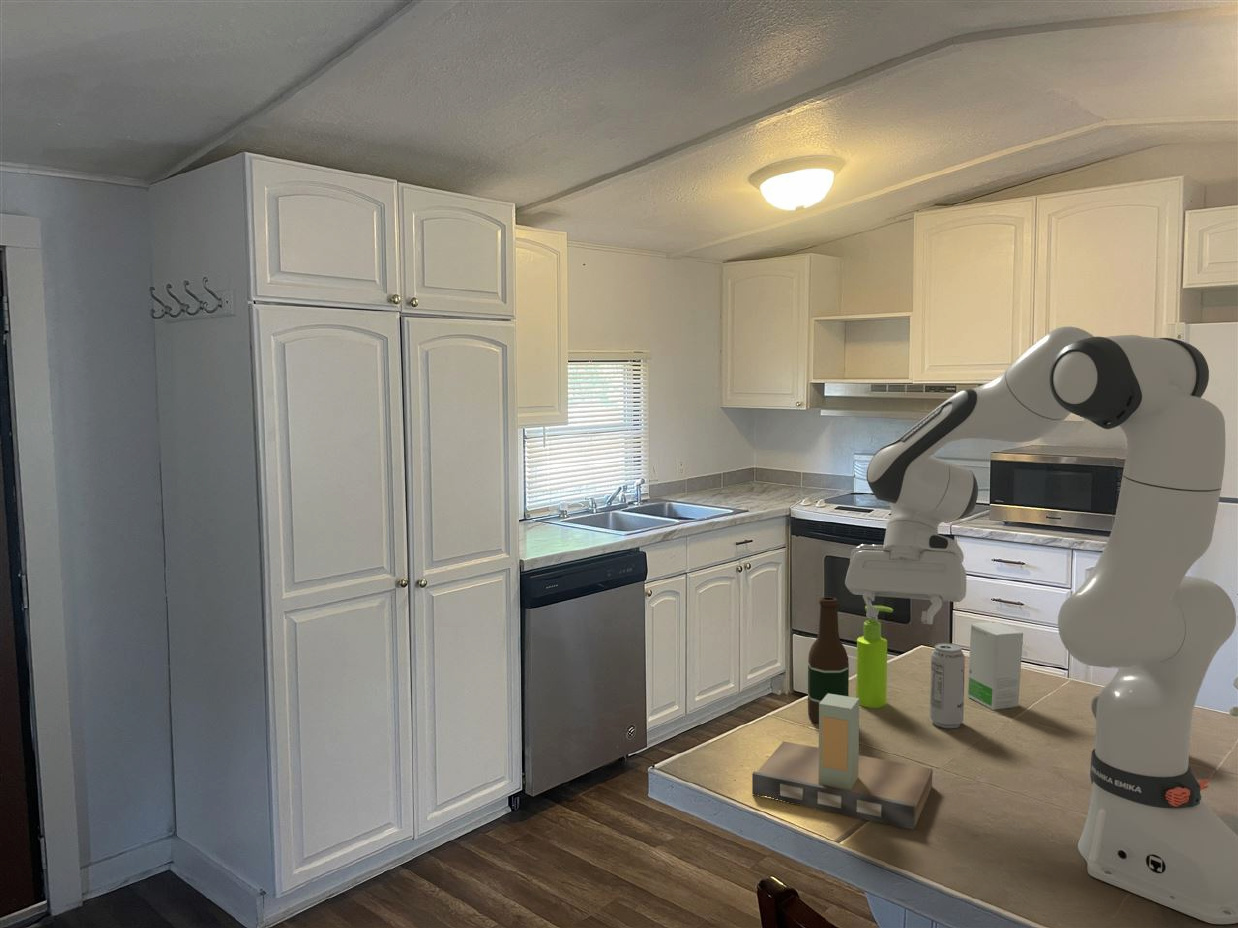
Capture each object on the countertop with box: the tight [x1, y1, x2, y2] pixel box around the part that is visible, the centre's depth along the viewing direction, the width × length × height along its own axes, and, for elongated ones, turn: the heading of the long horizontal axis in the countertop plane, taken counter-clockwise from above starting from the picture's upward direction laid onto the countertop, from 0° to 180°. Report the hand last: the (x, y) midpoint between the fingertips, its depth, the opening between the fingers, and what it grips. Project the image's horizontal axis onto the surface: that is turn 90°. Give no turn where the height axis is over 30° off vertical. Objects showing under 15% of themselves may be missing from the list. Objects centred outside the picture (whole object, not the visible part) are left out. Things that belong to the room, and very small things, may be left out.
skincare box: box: [966, 620, 1024, 711], centre depth 184 cm, size 8×7×16 cm
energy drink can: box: [929, 642, 966, 729], centre depth 173 cm, size 6×6×15 cm
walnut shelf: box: [751, 741, 933, 831], centre depth 146 cm, size 25×16×4 cm, turn 62°
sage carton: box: [818, 693, 860, 790], centre depth 143 cm, size 5×5×13 cm
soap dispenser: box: [855, 605, 894, 709], centre depth 184 cm, size 6×7×20 cm
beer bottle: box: [807, 596, 850, 726], centre depth 175 cm, size 8×8×24 cm
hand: (898, 620), depth 155 cm, fingers open, 8 cm apart
